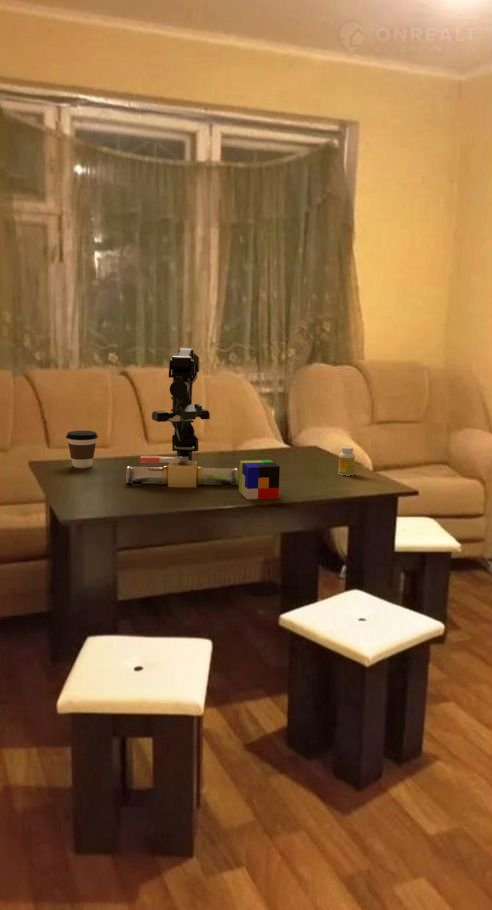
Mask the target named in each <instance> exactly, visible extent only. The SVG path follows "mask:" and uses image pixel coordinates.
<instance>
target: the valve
mask: <svg viewBox="0 0 492 910" xmlns="http://www.w3.org/2000/svg"><path fill="white" fill-rule="evenodd" d="M125 468H126V469H125V481H126V483H127V484H130V483H132V484H131V486H132V487H133V486H134V487H142V486H143V483H146V484H147V483H149V484H150V483H154V484H155V483H156V484H157V483H158V484H159V483H161V484H162V485H167V488H197V486H203V484H209V485H210V484H215V485H216V484H219V485H220V484H221V485H222V488H232V487H233V486H234V485H236V486H237V485H238V486H239V467H233V468H227V467H225V468H221V467H220V468H218V467H213V468H212V467H203V466H202V465H201V466H198V461H197V460H193V461H188V462H187V463H178V462H168V464H167V465H162V467H161V466H159V467H157V466H131V465H127V466H126V467H125Z"/></svg>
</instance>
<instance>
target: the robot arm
mask: <svg viewBox="0 0 492 910" xmlns="http://www.w3.org/2000/svg"><path fill="white" fill-rule="evenodd" d="M198 373H200V357H199V356H198V355H197V354H196V353H195V352H194V348H191V347H180V348H179V350H178V354H177V355H172V356H171V358H170V359H169V366H168V379H169V378H172V379H173V380H172V382H171V384H170V386H169V393H170V395H171V396H170V400H172V407H171V409H170V412H167V411H165V410H153V412H152V413H151V420H153V421H155V422H158V423H162V422H166V423H167V422H170V423H171V425H172V426H173V429H174V432H173V433H172V436H171V437H172V439H171V441H172V444H171V445H172V447H171V448H172V450H171V451H172V452H176V457H179V456H186V457H188V461H194V460H193V455H194V453H193V452H195V453H196V452H199V438H198V436H197V434H196V431H195V428H194V426H193V425H192V423H195V420H196V419H197V418H199V419H201V420H210V419H211V414H210V411H209V410H207V409H204V408H203V405H202V404H201V403H195V404H193V385H194V383H195V382H196V380H197V379H198Z"/></svg>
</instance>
